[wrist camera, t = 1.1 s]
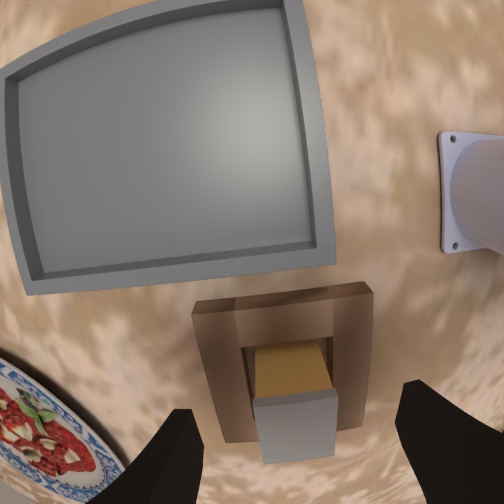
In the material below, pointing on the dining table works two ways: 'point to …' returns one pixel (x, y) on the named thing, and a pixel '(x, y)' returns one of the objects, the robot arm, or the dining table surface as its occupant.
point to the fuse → (294, 402)
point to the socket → (281, 331)
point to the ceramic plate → (51, 440)
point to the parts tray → (167, 148)
